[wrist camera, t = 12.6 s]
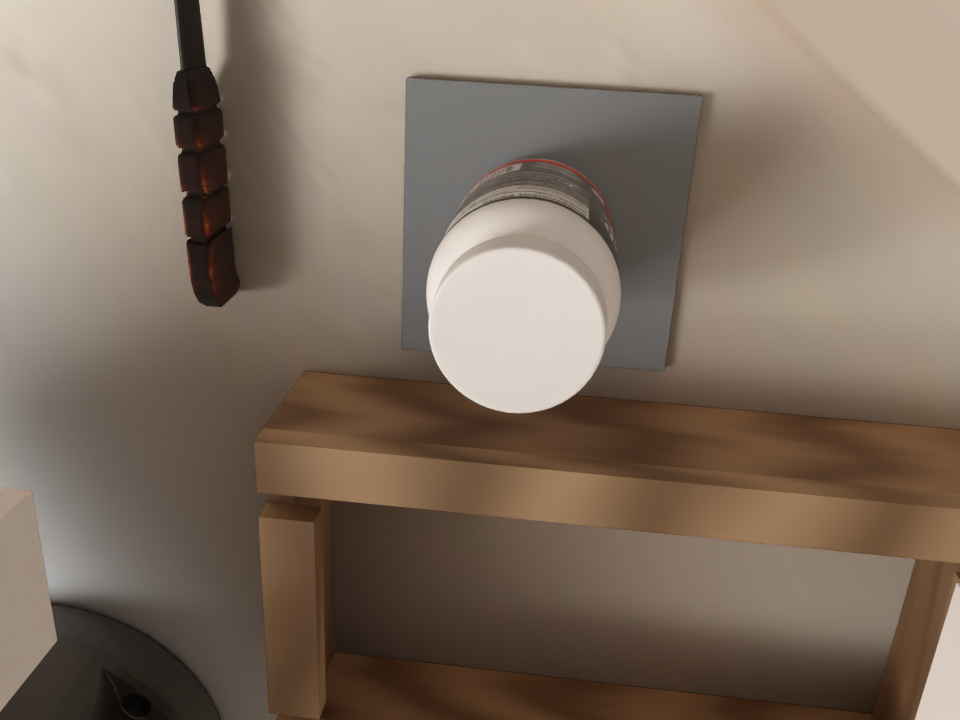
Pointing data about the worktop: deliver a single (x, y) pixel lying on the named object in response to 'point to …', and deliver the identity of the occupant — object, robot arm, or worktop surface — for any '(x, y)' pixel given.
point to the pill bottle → (524, 287)
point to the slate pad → (578, 144)
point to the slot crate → (591, 502)
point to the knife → (202, 165)
